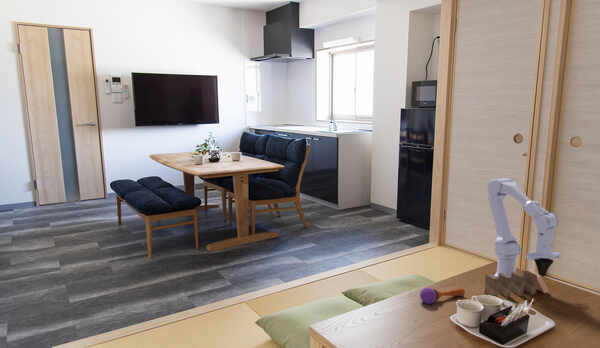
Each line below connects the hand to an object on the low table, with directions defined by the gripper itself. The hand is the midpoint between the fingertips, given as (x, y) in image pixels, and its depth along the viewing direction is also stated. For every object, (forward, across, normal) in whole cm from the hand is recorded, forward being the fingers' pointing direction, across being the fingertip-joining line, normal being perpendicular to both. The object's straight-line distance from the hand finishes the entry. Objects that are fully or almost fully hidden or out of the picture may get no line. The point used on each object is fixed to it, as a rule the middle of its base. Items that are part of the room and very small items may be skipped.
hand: (541, 275), depth 169 cm
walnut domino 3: (+7, -11, 0) cm, 13 cm away
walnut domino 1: (+7, -23, 0) cm, 24 cm away
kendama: (+7, -44, 0) cm, 45 cm away
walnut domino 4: (+7, -5, 0) cm, 8 cm away
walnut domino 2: (+7, -17, 0) cm, 18 cm away
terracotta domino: (+6, +1, 0) cm, 6 cm away
